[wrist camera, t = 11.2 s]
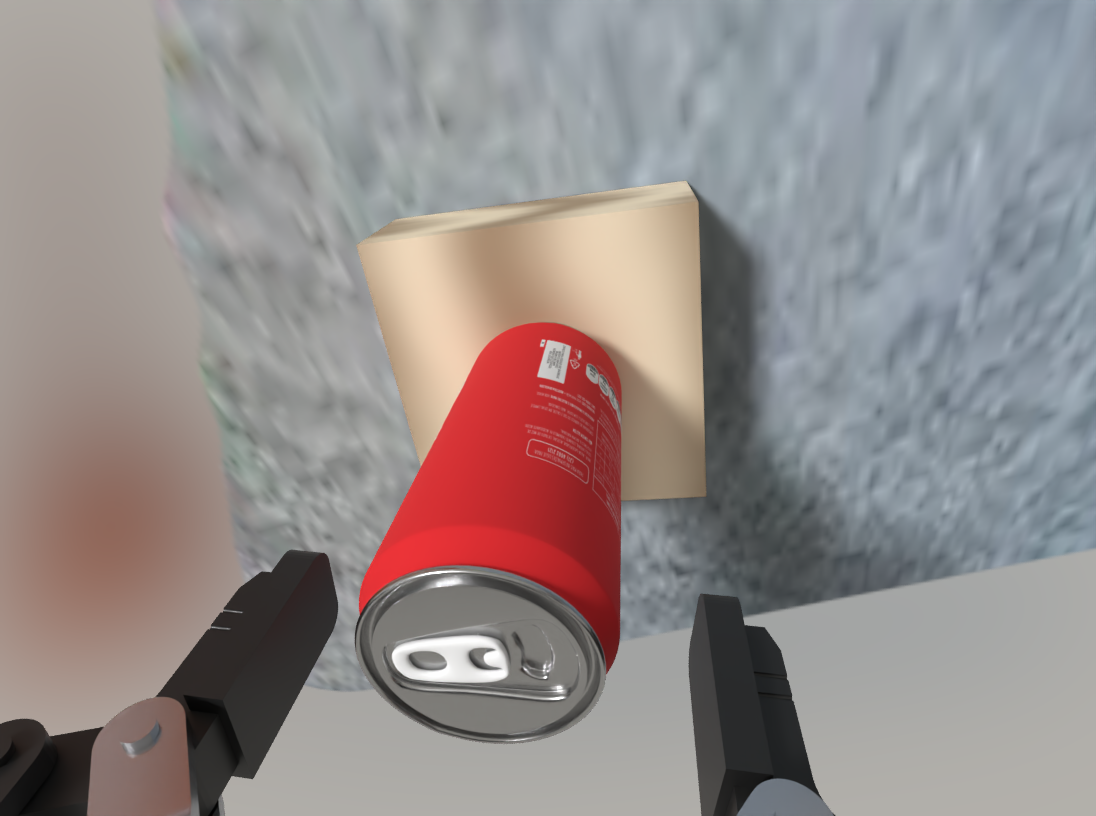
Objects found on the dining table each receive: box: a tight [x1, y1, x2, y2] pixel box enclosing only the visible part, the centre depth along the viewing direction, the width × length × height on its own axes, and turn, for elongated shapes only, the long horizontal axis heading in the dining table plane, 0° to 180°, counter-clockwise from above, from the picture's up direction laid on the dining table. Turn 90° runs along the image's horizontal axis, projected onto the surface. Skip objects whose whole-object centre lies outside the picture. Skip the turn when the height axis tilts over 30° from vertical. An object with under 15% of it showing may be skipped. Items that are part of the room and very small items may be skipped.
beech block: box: [357, 181, 706, 501], centre depth 23 cm, size 11×11×4 cm
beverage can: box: [355, 322, 622, 744], centre depth 16 cm, size 5×5×12 cm
